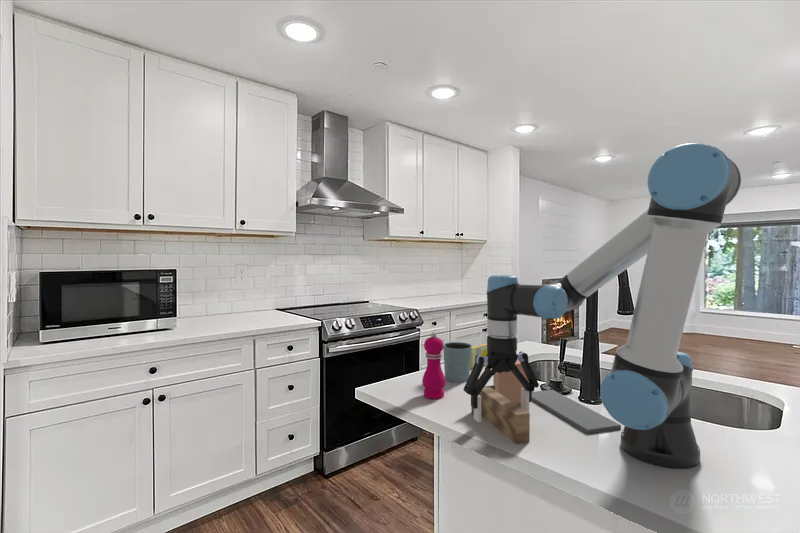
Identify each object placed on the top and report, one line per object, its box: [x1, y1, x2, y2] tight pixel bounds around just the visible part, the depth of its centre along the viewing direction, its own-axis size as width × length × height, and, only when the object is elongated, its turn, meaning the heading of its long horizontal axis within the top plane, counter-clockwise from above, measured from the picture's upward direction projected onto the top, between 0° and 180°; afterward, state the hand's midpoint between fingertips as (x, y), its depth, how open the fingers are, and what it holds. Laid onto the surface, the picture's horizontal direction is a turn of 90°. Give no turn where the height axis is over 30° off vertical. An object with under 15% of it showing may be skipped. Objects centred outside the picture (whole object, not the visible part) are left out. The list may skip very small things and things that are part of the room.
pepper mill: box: [421, 331, 447, 400], centre depth 130 cm, size 7×7×20 cm
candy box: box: [470, 343, 488, 370], centre depth 165 cm, size 16×2×8 cm, turn 130°
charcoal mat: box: [531, 389, 622, 434], centre depth 118 cm, size 28×10×1 cm, turn 16°
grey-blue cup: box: [442, 341, 473, 383], centre depth 147 cm, size 10×10×12 cm
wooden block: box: [470, 384, 531, 445], centre depth 108 cm, size 21×7×7 cm, turn 16°
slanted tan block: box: [492, 360, 529, 405], centre depth 124 cm, size 4×10×12 cm, turn 105°
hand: (501, 417), depth 108 cm, fingers open, 13 cm apart
